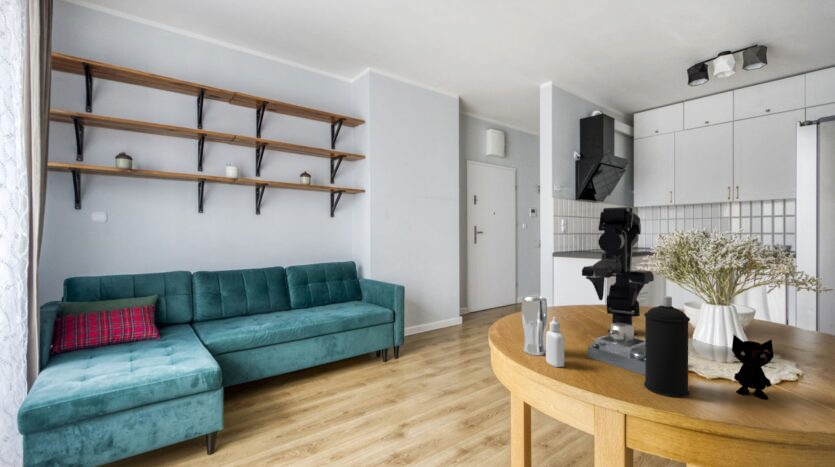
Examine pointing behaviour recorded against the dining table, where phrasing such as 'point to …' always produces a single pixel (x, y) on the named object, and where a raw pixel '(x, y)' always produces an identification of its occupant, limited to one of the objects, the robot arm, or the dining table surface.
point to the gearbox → (619, 353)
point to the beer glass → (534, 324)
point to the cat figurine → (752, 365)
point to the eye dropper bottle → (555, 345)
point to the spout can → (622, 334)
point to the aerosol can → (666, 350)
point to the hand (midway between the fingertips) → (615, 302)
